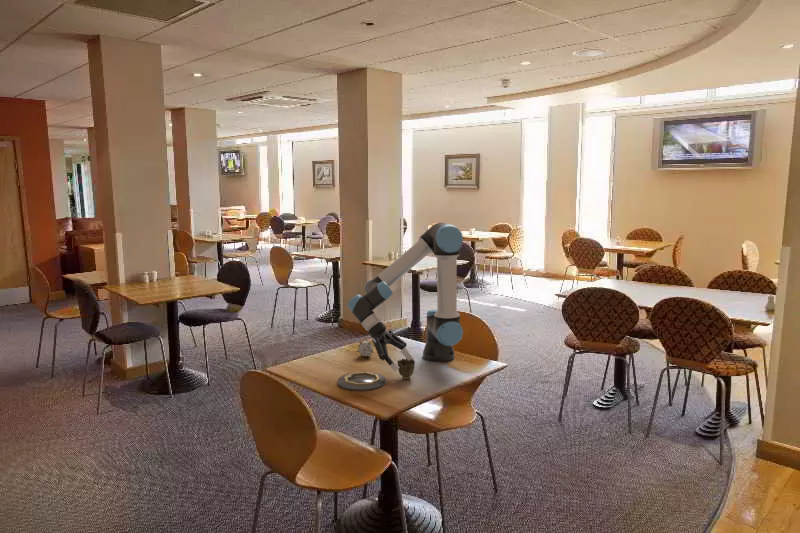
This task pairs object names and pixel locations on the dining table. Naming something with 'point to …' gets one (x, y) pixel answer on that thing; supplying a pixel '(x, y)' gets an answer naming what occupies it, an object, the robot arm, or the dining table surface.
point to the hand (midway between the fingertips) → (404, 365)
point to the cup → (406, 368)
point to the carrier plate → (361, 381)
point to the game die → (365, 348)
